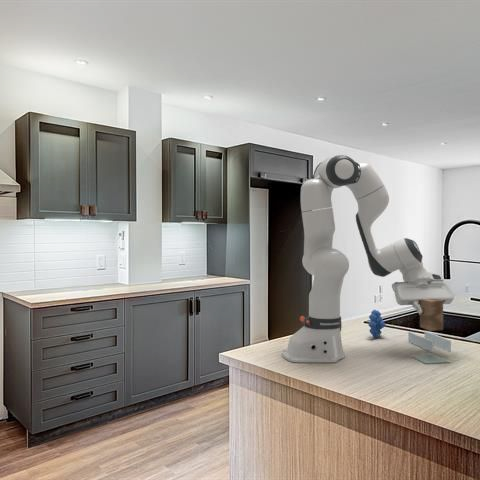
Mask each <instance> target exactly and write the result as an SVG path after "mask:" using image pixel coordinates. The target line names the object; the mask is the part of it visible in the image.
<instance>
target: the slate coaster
mask: <svg viewBox="0 0 480 480" xmlns="http://www.w3.org/2000/svg"><path fill="white" fill-rule="evenodd" d="M410 357H411V358H412V357H413V359H414V358H415V359H414V360H416V359H417V360H416V361H418V362H421V363H422V364H424V365H434V364H437V365H438V364H448V363H449V364H450V363H451V361H450V360H447V359H445V358H444V357H441V356H439V355H436V354H433V353H432V354H431V353H430V354H416V355H410Z"/></svg>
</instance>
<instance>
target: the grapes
mask: <svg viewBox="0 0 480 480" xmlns="http://www.w3.org/2000/svg"><path fill="white" fill-rule="evenodd" d="M381 315H382V313H381V312H380V311H379V310H377V309H373V310H372V311H371V312H370V315H369V316H368V318H369V320H370V321H369V322H368V326H369V327H370V328H369V330H368V331H369V333H370V334H371V335H372V337H373V338H376V339H377V338H378V337H379V336H380V335H382V331H381V330H382V329H383V328H385V327H386V326H387V324H386V323H385V321H384V320H383V319H384V318H382V316H381Z"/></svg>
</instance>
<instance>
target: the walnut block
mask: <svg viewBox="0 0 480 480" xmlns="http://www.w3.org/2000/svg"><path fill="white" fill-rule="evenodd" d="M419 306H420V307H421V308H424V311H425V313H424V314H419V327H420V328H422V329H424V330H425V331H428V332H431V331H432V332H433V331H444V304H443V301H441V300H437V299H421V300H420V305H419Z"/></svg>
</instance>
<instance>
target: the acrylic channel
mask: <svg viewBox="0 0 480 480" xmlns="http://www.w3.org/2000/svg"><path fill="white" fill-rule="evenodd" d="M407 333H408V335H407V336H408V337H407V338H408V339H407V340H408V341H409V342H408V343H410V342H411V343H410V344H413V345H415V346H417V347H419V346H420V347H419V348H421V347H422V348H421V349H424V350H425V351H428V352H430V353H434V352H435V350H434V349H435V348H434V347H435V346H436V347H439V348H441V349H443V350H445V351H448V352H452V339H451V340H450V339H447V338H445V337H443V336H440V335H437V334H435V333H432V332H431V331H428V330H424V336H421V335H418V334H416V333H414V332H412V331H408V332H407Z"/></svg>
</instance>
